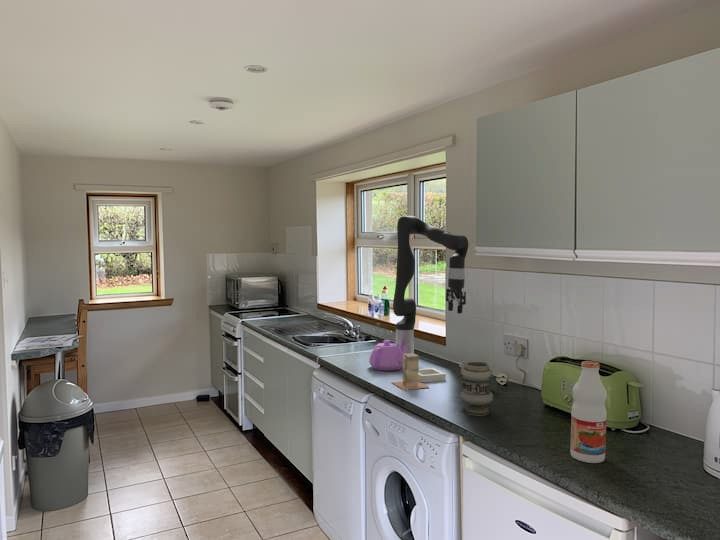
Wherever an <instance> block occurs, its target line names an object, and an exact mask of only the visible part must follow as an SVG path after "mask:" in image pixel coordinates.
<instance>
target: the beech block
mask: <svg viewBox="0 0 720 540" xmlns="http://www.w3.org/2000/svg"><path fill="white" fill-rule="evenodd" d="M419 357H420V355H418V354H416V353H415V352H414V353H412V354H403V366H402V381H403V384H404V385H406V386H418V369H419V361H420V360H419Z"/></svg>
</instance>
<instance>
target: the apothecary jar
mask: <svg viewBox="0 0 720 540" xmlns="http://www.w3.org/2000/svg"><path fill="white" fill-rule="evenodd" d="M460 376H461V379H462V378H463V379H464V385H463V390H462V391H461V392H460V395H459V397H460V400H461V401H462V402H463V403H465V404H466V405H467V406H465V407H463V409H462V412H463V413H465V414H467V415H470V416H476V417H485V416H488V415H490V413H491V410H489V408H487V407H485V406H488V405H489V404H491V403H492V402H493V401H494V394H493V393H492V392H491V380H492V379H493V378H494V372H493V371H492V370H491V369H490V365H489V363H488V362H485V361H478V360H477V361H476V360H475V361H467V362H466V364H465V368H464V369H462V371H460ZM468 405H469V406H468Z"/></svg>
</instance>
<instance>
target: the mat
mask: <svg viewBox="0 0 720 540" xmlns="http://www.w3.org/2000/svg"><path fill="white" fill-rule="evenodd" d="M392 383H393V384H392ZM391 384H392V385H394V386H395V385H396V386H395V387H397V386H398V387H397V388H398V389H400V388H401V389H400V390H402V389H403V390H404V391H408V390H407V389H415V390H422V389H421V388H425V389H430V387H429V386H428V385H426V384H425V383H421V382H420V381H418V386H406V385H404V384H403V380H400V381H393V382H391ZM403 390H402V391H403Z"/></svg>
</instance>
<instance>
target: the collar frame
mask: <svg viewBox="0 0 720 540" xmlns="http://www.w3.org/2000/svg"><path fill="white" fill-rule="evenodd" d="M446 378H447V374H446V373H445V372H442V371H440V370H438V369H437V368H435V367H430V368H429V367H428V368H418V380H419V382H424V383H431V382H433V383H434V381H435V382H444V381H446V380H447V379H446Z"/></svg>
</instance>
